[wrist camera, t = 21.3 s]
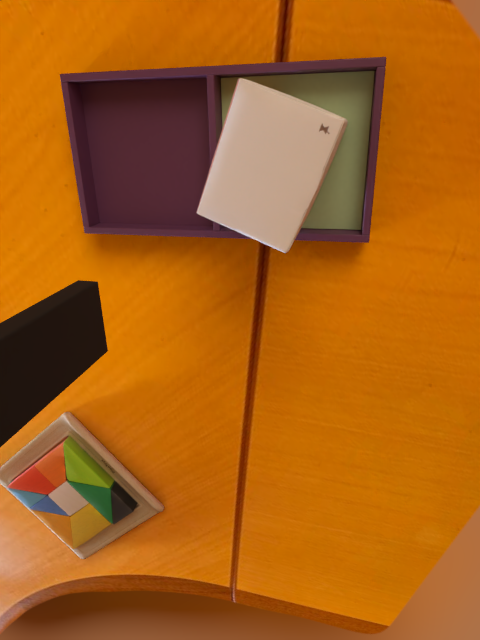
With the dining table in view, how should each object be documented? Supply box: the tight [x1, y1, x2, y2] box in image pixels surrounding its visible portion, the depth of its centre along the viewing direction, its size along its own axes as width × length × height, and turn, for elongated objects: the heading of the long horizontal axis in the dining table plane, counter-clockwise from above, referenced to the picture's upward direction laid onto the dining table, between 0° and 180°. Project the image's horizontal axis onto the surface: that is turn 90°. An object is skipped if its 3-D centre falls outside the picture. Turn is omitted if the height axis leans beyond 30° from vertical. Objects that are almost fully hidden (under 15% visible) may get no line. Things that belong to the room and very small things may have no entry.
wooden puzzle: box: [0, 412, 164, 559], centre depth 58 cm, size 18×19×4 cm
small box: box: [196, 78, 348, 253], centre depth 31 cm, size 8×6×13 cm
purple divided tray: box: [60, 57, 386, 242], centre depth 38 cm, size 13×26×3 cm, turn 90°
